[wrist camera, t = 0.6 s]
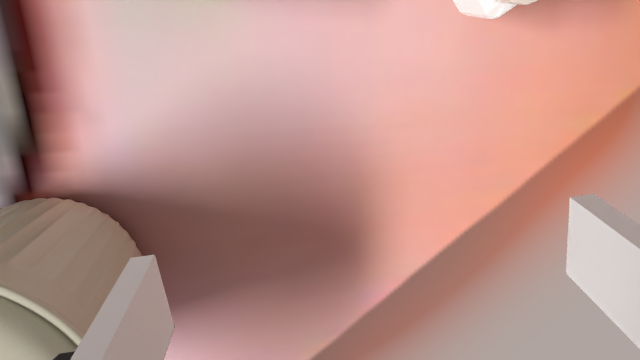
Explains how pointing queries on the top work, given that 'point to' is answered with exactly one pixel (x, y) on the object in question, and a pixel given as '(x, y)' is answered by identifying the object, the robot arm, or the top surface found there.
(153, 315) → the robot arm
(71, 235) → the canister
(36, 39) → the top surface
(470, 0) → the pepper shaker
